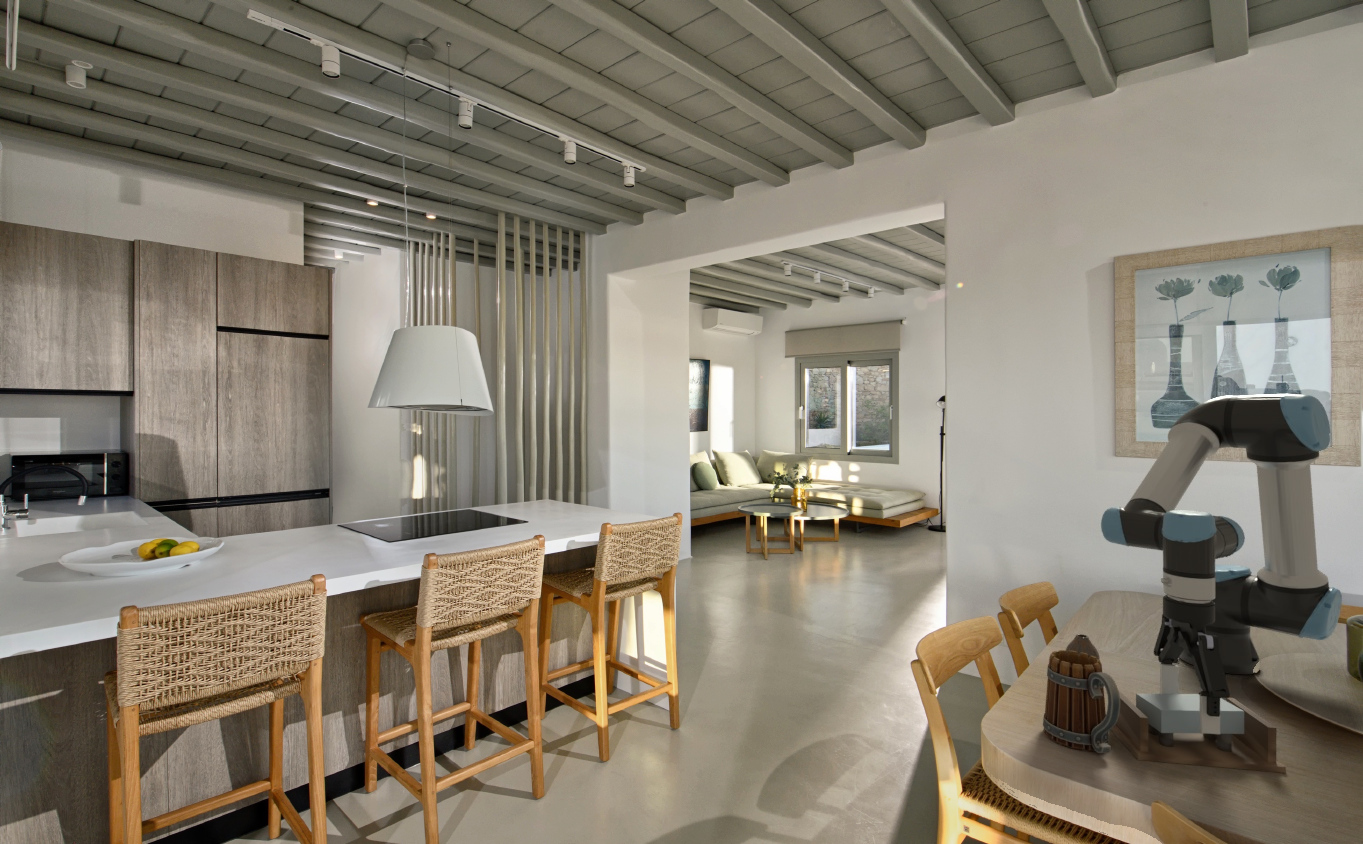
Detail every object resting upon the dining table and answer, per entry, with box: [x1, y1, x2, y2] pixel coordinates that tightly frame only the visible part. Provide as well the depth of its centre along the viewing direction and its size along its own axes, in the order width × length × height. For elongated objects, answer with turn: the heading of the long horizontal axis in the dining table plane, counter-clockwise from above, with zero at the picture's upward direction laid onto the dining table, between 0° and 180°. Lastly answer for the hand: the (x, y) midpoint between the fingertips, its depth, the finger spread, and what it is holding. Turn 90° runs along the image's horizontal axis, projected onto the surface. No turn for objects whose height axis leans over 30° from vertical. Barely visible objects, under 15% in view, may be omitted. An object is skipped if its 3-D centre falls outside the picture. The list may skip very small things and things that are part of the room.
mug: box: [1042, 649, 1120, 754], centre depth 121 cm, size 16×11×15 cm
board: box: [1135, 693, 1244, 734], centre depth 120 cm, size 14×7×4 cm, turn 88°
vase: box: [1065, 633, 1101, 661], centre depth 154 cm, size 7×7×9 cm
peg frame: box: [1110, 689, 1287, 774], centre depth 120 cm, size 22×14×7 cm, turn 78°
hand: (1188, 715), depth 120 cm, fingers open, 13 cm apart
